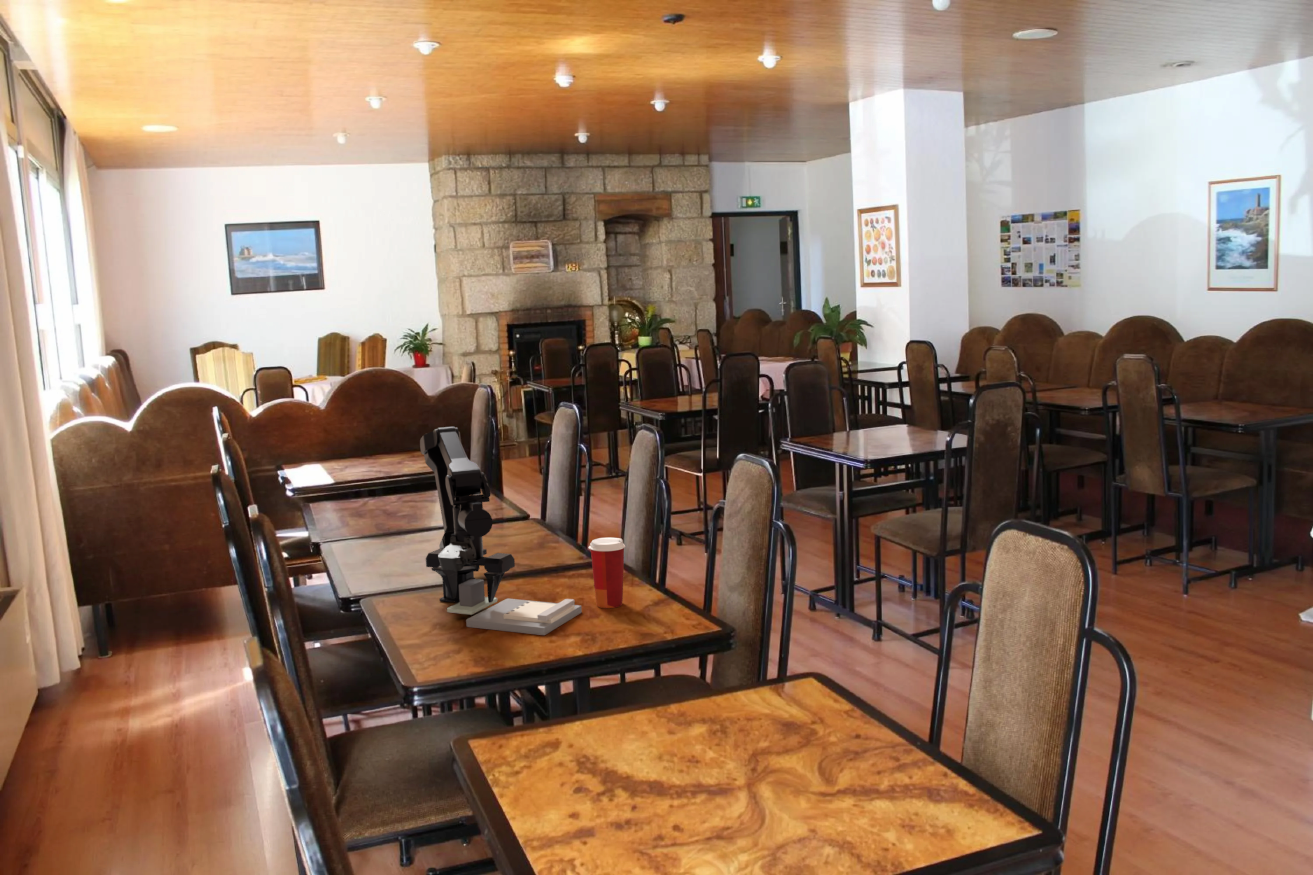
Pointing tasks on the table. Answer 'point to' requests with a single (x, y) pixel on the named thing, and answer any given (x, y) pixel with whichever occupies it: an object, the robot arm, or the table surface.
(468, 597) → the gray block on plate
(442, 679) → the table surface
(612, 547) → the paper cup
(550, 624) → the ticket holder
